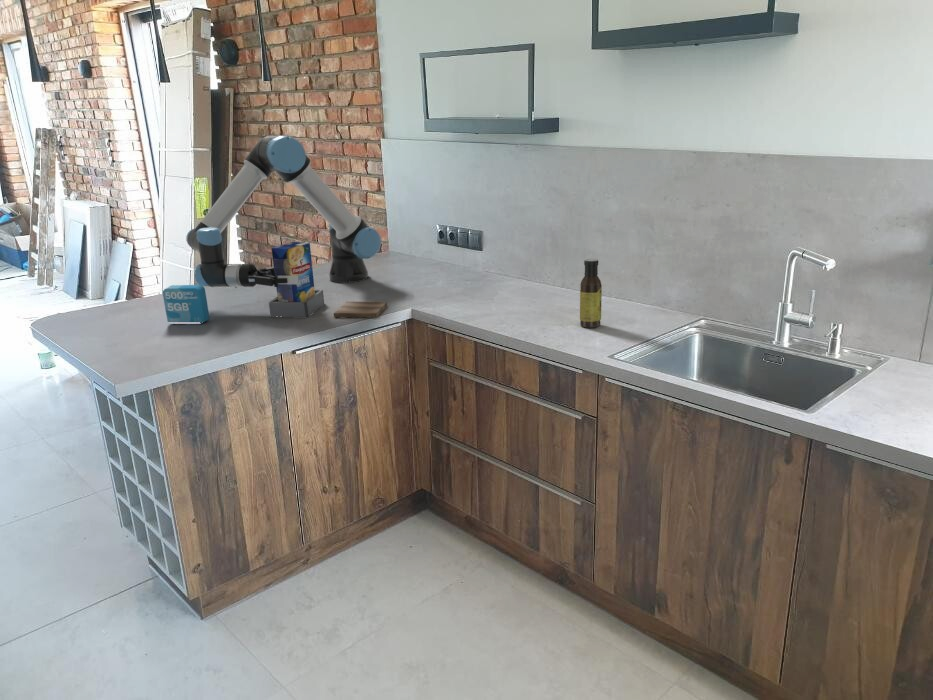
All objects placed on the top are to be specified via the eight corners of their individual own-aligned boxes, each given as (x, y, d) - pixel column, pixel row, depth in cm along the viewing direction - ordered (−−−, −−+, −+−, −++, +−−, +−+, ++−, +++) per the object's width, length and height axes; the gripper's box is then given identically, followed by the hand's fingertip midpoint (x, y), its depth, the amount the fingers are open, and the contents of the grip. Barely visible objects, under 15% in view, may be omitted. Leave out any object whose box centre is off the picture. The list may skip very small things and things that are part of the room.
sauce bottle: (604, 327, 210) (606, 261, 203) (584, 329, 208) (585, 262, 202) (595, 321, 215) (597, 256, 209) (576, 323, 214) (577, 258, 208)
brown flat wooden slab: (346, 305, 241) (346, 301, 241) (386, 306, 240) (386, 301, 239) (334, 317, 228) (333, 313, 228) (376, 317, 227) (376, 313, 226)
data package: (167, 325, 226) (161, 288, 222) (174, 321, 231) (167, 285, 227) (204, 324, 226) (198, 288, 222) (210, 320, 230) (204, 284, 226)
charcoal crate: (289, 303, 247) (287, 289, 245) (324, 303, 245) (322, 289, 243) (270, 317, 231) (268, 302, 229) (307, 317, 229) (306, 302, 228)
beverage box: (316, 307, 241) (309, 242, 234) (295, 315, 232) (288, 249, 225) (300, 305, 244) (293, 241, 237) (279, 313, 235) (271, 247, 228)
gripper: (258, 277, 249) (317, 277, 246) (227, 295, 226) (292, 296, 223) (255, 256, 247) (315, 256, 244) (224, 272, 224) (290, 272, 221)
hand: (304, 275), depth 233 cm, fingers open, 12 cm apart
